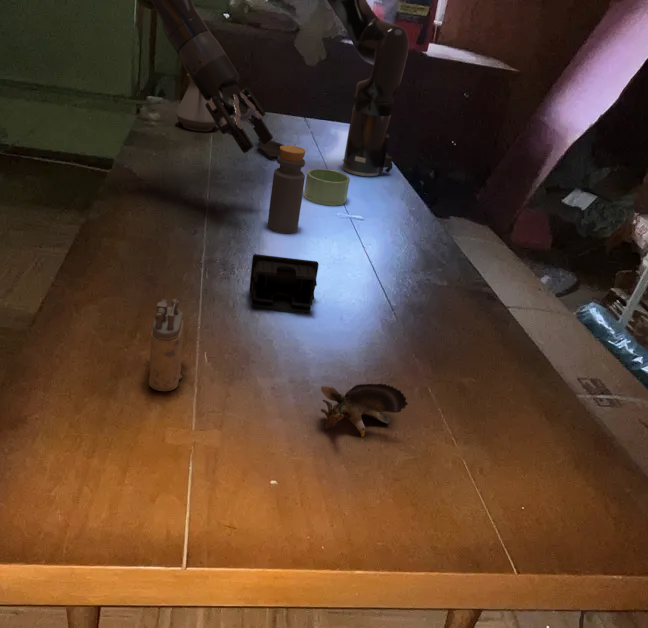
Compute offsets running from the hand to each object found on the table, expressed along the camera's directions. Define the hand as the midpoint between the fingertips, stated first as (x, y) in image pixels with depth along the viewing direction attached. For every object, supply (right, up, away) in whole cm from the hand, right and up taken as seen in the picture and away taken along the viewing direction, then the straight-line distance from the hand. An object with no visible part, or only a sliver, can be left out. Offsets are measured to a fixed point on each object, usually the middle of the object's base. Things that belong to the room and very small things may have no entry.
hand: (259, 145), depth 134 cm
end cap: (+5, -31, -21) cm, 38 cm away
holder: (+13, -3, +25) cm, 28 cm away
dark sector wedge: (+1, +15, +49) cm, 51 cm away
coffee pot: (-19, +22, +55) cm, 62 cm away
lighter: (-9, -44, -43) cm, 62 cm away
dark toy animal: (+15, -50, -46) cm, 70 cm away
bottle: (+4, -14, +6) cm, 16 cm away
